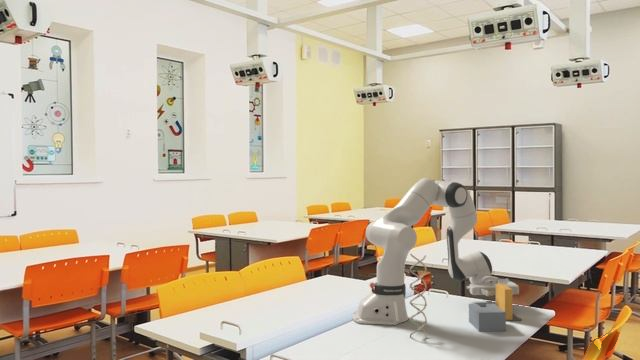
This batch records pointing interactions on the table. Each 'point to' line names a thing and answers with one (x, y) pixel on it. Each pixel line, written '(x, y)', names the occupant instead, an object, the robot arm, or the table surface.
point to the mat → (514, 318)
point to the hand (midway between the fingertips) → (500, 293)
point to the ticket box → (487, 317)
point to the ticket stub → (504, 299)
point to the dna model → (419, 295)
